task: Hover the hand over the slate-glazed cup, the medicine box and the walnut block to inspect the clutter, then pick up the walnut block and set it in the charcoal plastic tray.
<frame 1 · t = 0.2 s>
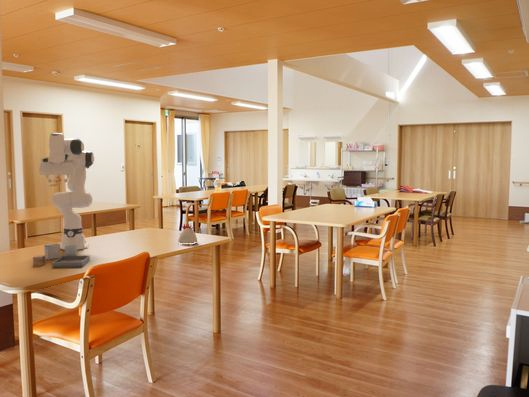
hand: (57, 182, 280), 47 cm above the table, fingers open, 8 cm apart
walnut block: (39, 264, 266), on the table
medicine box: (52, 258, 283), on the table
tray: (71, 264, 268), on the table
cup: (71, 259, 281), on the table
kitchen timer: (187, 243, 338), on the table
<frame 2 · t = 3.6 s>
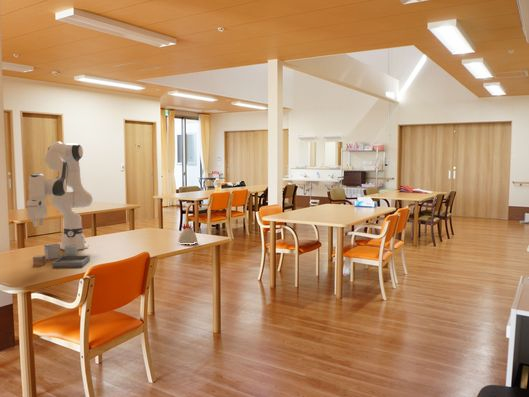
hand: (38, 225, 264), 23 cm above the table, fingers open, 8 cm apart
nothing on the table moved.
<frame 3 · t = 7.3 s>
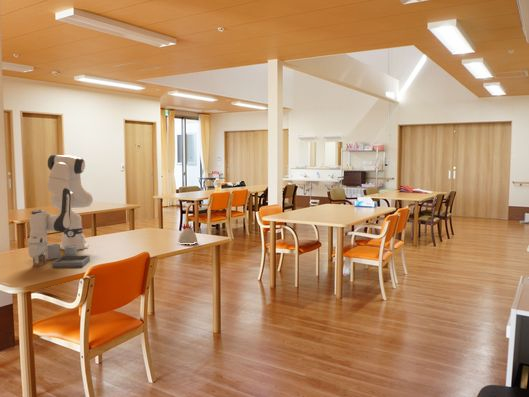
hand: (39, 261, 266), 2 cm above the table, fingers closed on walnut block, 5 cm apart
walnut block: (39, 264, 266), on the table, touching gripper
everything else where it was.
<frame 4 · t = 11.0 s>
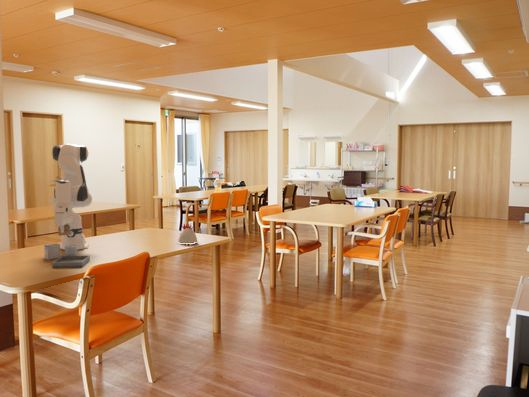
hand: (64, 231, 266), 19 cm above the table, fingers closed on walnut block, 5 cm apart
walnut block: (64, 234, 266), point 18 cm above the table, touching gripper
everything else where it was.
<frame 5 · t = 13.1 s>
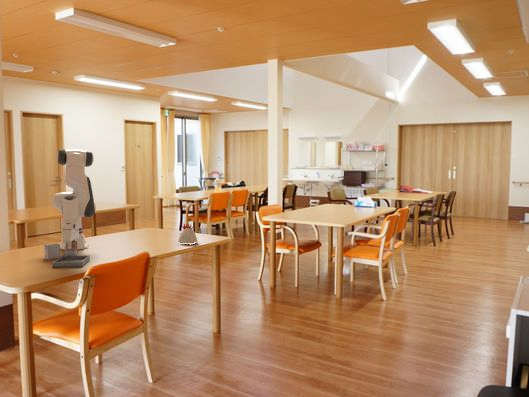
hand: (71, 247, 267), 10 cm above the table, fingers closed on walnut block, 5 cm apart
walnut block: (71, 250, 267), point 8 cm above the table, touching gripper
everything else where it was.
when the fingers open (5 cm above the table, at t = 14.9 s): walnut block drops 2 cm, resting on tray.
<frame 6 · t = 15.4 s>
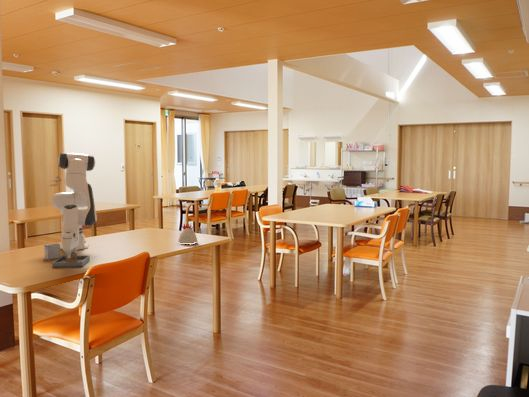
hand: (71, 256, 268), 5 cm above the table, fingers open, 8 cm apart
walnut block: (71, 262, 268), point 1 cm above the table, touching tray
everything else where it was.
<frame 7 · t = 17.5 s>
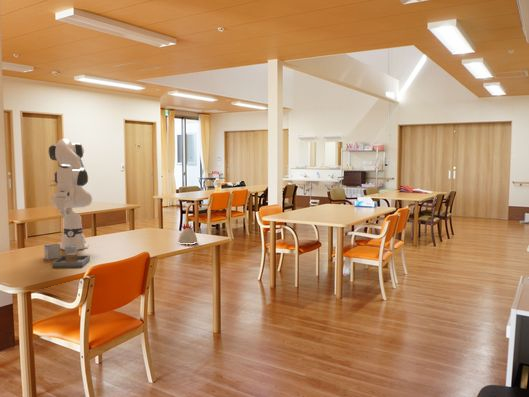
hand: (65, 215, 270), 28 cm above the table, fingers open, 8 cm apart
nothing on the table moved.
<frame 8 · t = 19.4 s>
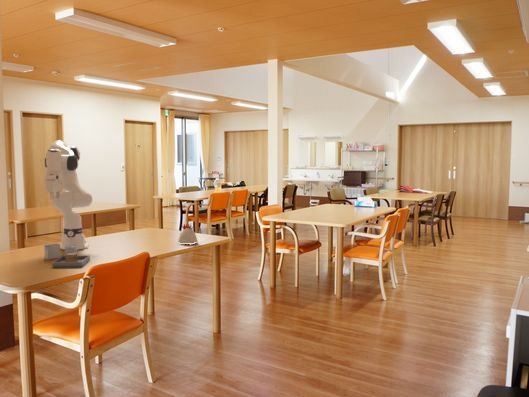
hand: (55, 199, 275), 37 cm above the table, fingers open, 8 cm apart
nothing on the table moved.
at the end: walnut block inside the target area on the tray (0.1 cm from its centre), point 1.0 cm above the tray's base; walnut block tilted 0°; the gripper is holding nothing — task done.
